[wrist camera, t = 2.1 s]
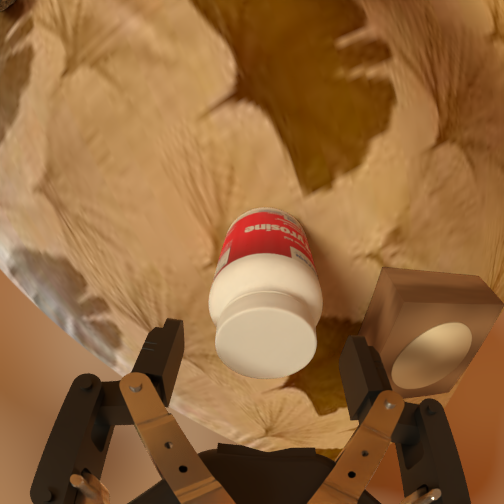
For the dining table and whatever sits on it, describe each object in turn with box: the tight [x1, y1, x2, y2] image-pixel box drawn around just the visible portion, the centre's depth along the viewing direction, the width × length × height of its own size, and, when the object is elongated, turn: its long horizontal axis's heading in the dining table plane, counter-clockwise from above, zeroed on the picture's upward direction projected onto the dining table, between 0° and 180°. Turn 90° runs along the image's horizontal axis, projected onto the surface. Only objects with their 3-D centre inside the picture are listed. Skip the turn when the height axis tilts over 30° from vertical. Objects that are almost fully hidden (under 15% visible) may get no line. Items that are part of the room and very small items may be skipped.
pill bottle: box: [209, 207, 323, 379], centre depth 18 cm, size 6×6×11 cm
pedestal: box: [358, 267, 504, 398], centre depth 24 cm, size 12×12×5 cm
